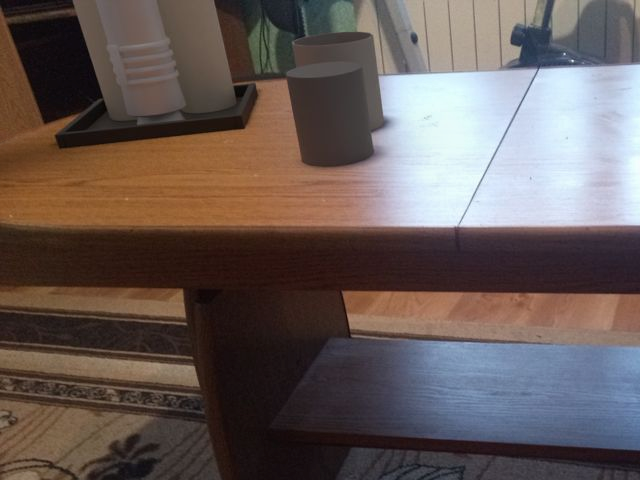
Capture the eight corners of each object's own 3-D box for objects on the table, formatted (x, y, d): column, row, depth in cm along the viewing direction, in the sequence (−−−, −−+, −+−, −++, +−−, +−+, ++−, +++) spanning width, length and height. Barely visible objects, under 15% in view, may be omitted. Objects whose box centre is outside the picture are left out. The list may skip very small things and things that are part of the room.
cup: (324, 151, 77) (307, 49, 71) (299, 135, 83) (281, 40, 78) (397, 135, 80) (385, 36, 75) (367, 120, 86) (355, 29, 81)
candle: (119, 132, 87) (75, -8, 79) (165, 117, 92) (128, -15, 84) (157, 136, 84) (115, -8, 76) (203, 121, 89) (168, -16, 81)
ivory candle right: (177, 115, 92) (141, -17, 85) (186, 103, 98) (154, -21, 91) (233, 109, 93) (203, -22, 85) (239, 97, 99) (212, -26, 91)
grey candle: (302, 180, 69) (283, 80, 64) (304, 159, 75) (287, 66, 70) (377, 172, 69) (363, 72, 65) (373, 151, 75) (360, 58, 71)
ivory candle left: (103, 123, 92) (60, -10, 84) (117, 110, 97) (78, -15, 90) (161, 117, 92) (124, -15, 84) (171, 105, 98) (137, -20, 90)
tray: (60, 153, 83) (54, 135, 82) (103, 114, 99) (98, 98, 98) (245, 133, 85) (241, 115, 84) (258, 98, 101) (255, 82, 100)
